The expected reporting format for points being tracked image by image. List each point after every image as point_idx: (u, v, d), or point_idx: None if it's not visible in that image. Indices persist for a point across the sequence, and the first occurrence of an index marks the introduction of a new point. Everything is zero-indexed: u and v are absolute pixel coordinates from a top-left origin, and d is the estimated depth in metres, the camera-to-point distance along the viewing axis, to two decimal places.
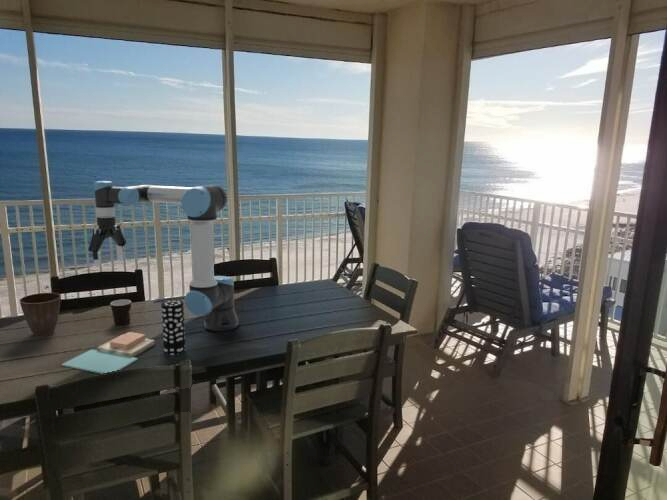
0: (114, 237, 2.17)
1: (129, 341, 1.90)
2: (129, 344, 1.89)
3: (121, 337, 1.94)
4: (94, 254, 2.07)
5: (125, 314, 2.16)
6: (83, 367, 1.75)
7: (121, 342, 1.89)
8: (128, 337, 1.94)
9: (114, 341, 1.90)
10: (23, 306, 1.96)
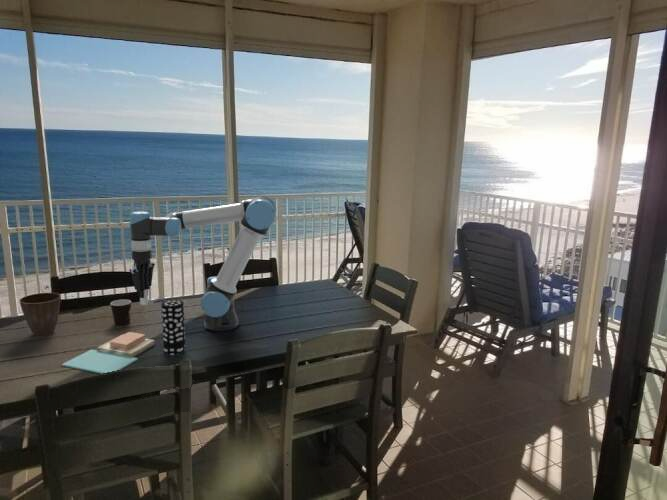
0: (145, 274, 1.99)
1: (129, 341, 1.90)
2: (129, 344, 1.89)
3: (121, 337, 1.94)
4: (140, 292, 1.98)
5: (125, 314, 2.16)
6: (83, 367, 1.75)
7: (121, 342, 1.89)
8: (128, 337, 1.94)
9: (114, 341, 1.90)
10: (23, 306, 1.96)
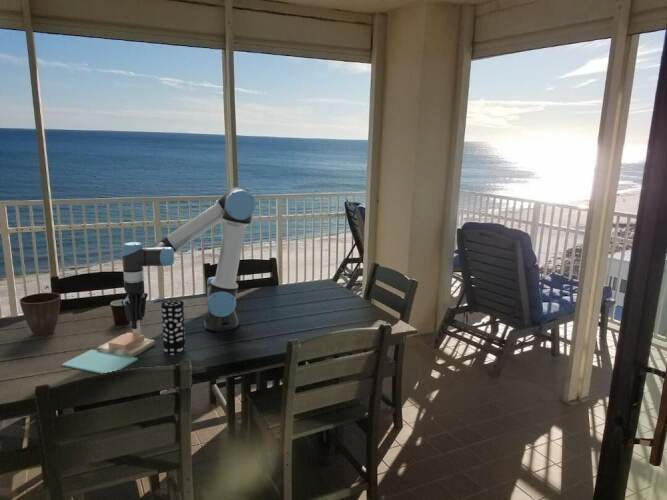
0: (137, 305, 1.97)
1: (128, 342, 1.89)
2: (128, 345, 1.88)
3: (120, 338, 1.93)
4: (133, 323, 1.96)
5: (125, 314, 2.16)
6: (83, 367, 1.75)
7: (120, 343, 1.88)
8: (127, 337, 1.94)
9: (113, 342, 1.89)
10: (23, 306, 1.96)
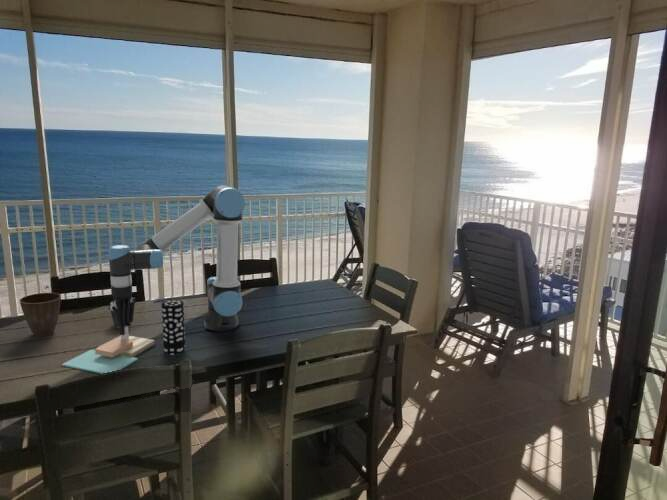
0: (125, 310, 1.90)
1: (115, 349, 1.83)
2: (115, 352, 1.81)
3: (107, 344, 1.87)
4: (121, 329, 1.89)
5: None
6: (83, 367, 1.75)
7: (107, 350, 1.82)
8: (115, 344, 1.87)
9: (99, 349, 1.83)
10: (23, 306, 1.96)
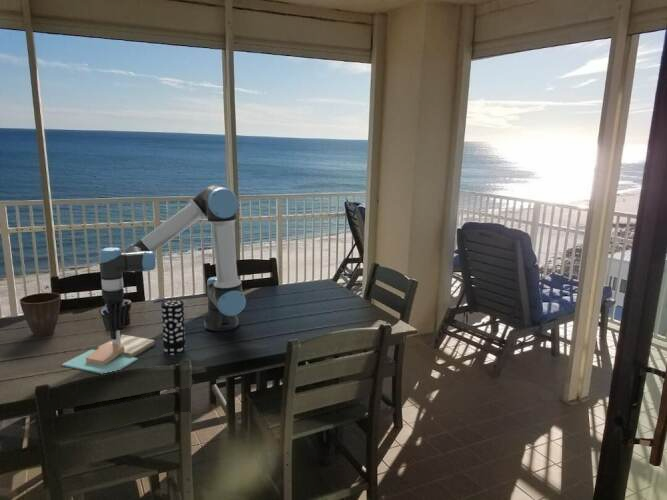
0: (117, 314, 1.86)
1: (106, 356, 1.79)
2: (106, 360, 1.77)
3: (98, 351, 1.82)
4: (112, 334, 1.85)
5: None
6: (83, 367, 1.75)
7: (98, 358, 1.77)
8: (106, 350, 1.83)
9: (90, 357, 1.78)
10: (23, 306, 1.96)
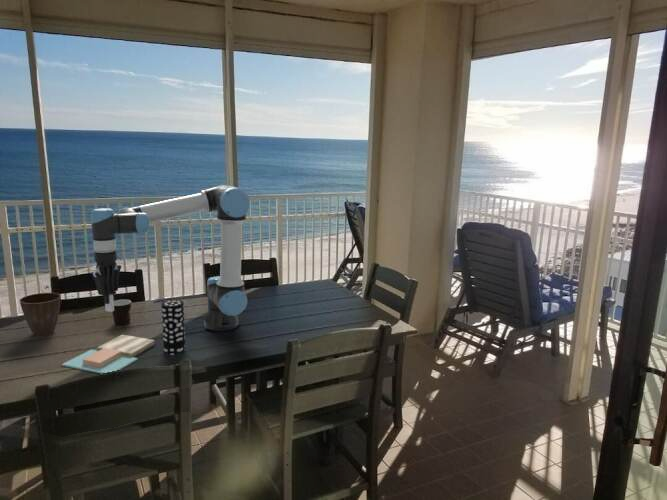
0: (110, 277, 1.80)
1: (103, 359, 1.77)
2: (103, 362, 1.76)
3: (95, 354, 1.81)
4: (105, 298, 1.79)
5: (125, 314, 2.16)
6: (83, 367, 1.75)
7: (95, 360, 1.76)
8: (103, 353, 1.82)
9: (87, 359, 1.77)
10: (23, 306, 1.96)
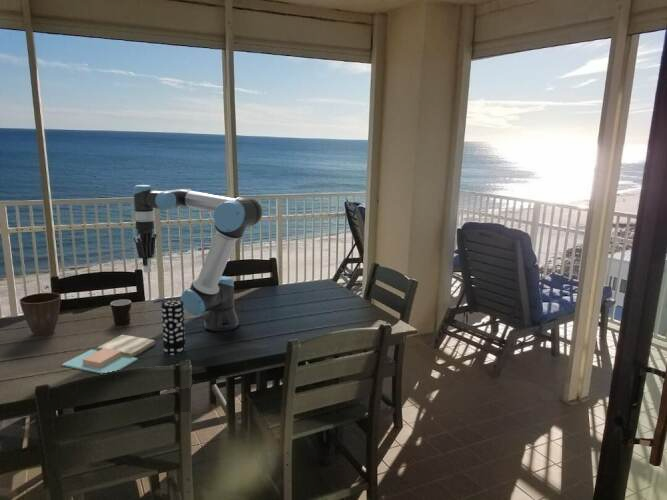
0: (148, 243, 2.13)
1: (103, 359, 1.77)
2: (103, 362, 1.76)
3: (95, 354, 1.81)
4: (144, 260, 2.13)
5: (125, 314, 2.16)
6: (83, 367, 1.75)
7: (95, 360, 1.76)
8: (103, 353, 1.82)
9: (87, 359, 1.77)
10: (23, 306, 1.96)
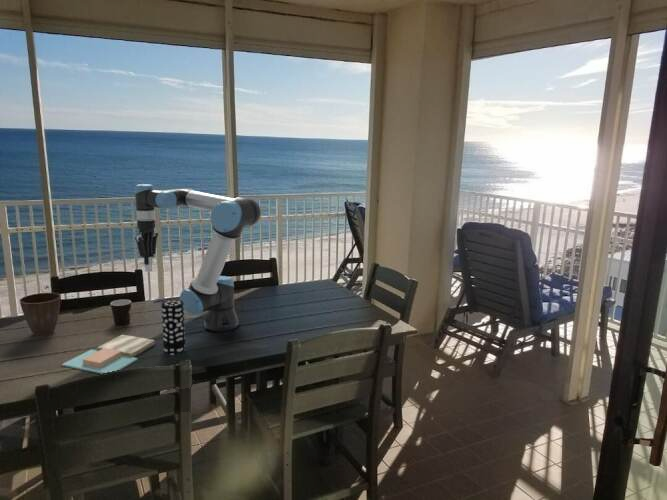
0: (149, 242, 2.15)
1: (103, 359, 1.77)
2: (103, 362, 1.76)
3: (95, 354, 1.81)
4: (145, 259, 2.14)
5: (125, 314, 2.16)
6: (83, 367, 1.75)
7: (95, 360, 1.76)
8: (103, 353, 1.82)
9: (87, 359, 1.77)
10: (23, 306, 1.96)
